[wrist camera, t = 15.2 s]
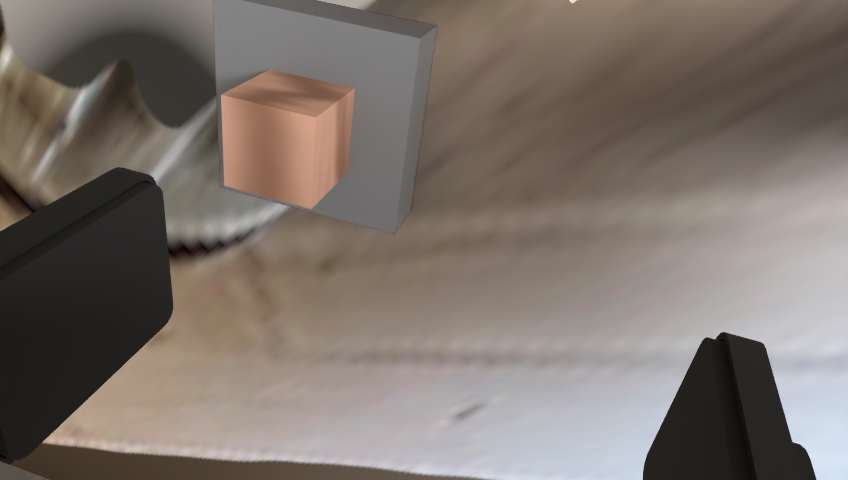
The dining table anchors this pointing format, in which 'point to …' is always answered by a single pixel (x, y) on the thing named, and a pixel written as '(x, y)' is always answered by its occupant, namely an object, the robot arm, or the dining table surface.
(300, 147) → the terracotta cube
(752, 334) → the dining table surface
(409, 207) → the gray block
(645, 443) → the dining table surface
